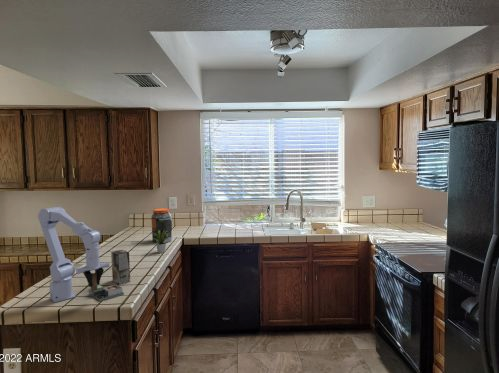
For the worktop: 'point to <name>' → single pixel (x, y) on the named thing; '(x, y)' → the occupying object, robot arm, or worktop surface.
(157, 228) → the jar with orange lid
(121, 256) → the coffee box
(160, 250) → the house plant
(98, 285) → the on button
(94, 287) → the walnut stylus
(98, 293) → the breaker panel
